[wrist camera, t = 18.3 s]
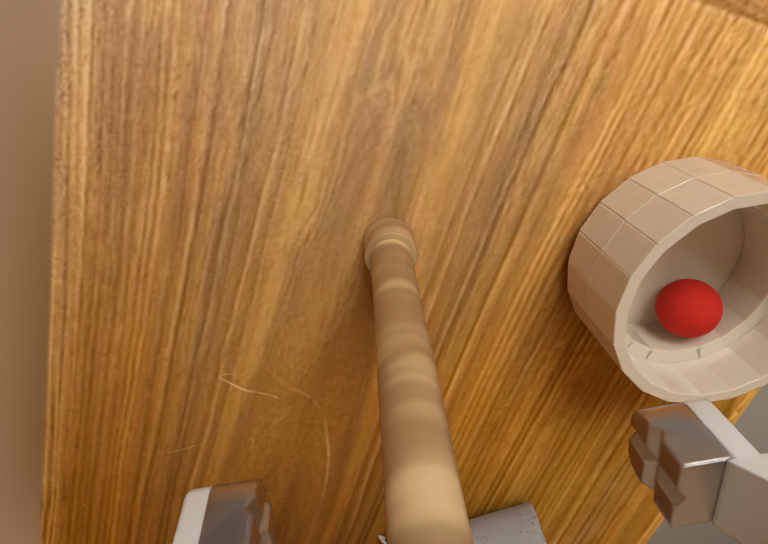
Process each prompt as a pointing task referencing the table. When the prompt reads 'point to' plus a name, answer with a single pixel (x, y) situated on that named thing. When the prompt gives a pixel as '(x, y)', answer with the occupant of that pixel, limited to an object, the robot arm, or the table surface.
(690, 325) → the red ball
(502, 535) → the ceramic mug
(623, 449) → the table surface
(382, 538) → the sunglasses
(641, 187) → the bowl
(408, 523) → the stir stick
